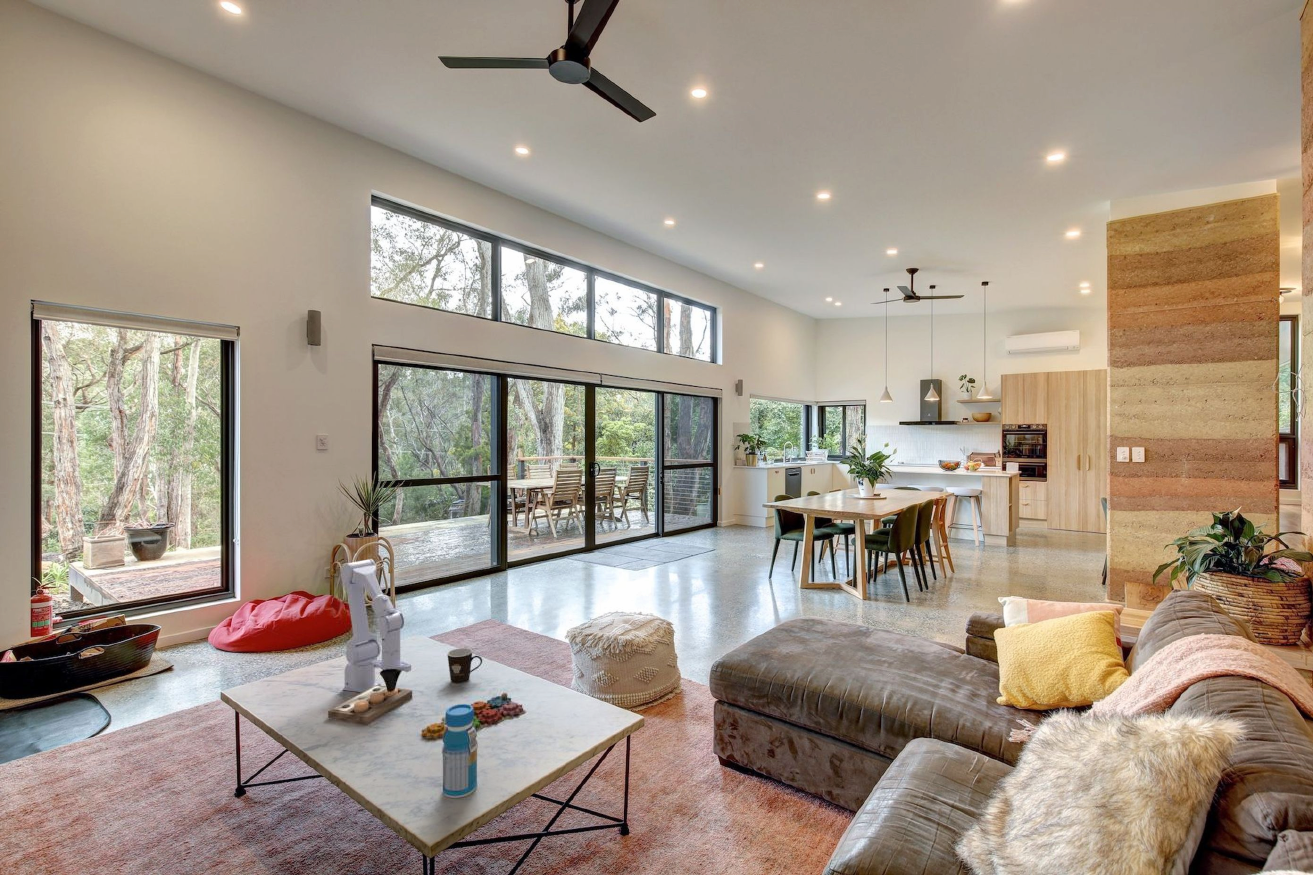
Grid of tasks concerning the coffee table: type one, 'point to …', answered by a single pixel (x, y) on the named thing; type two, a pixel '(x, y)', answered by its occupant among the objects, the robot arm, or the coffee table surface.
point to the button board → (375, 710)
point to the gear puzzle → (481, 715)
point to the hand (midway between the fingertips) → (391, 690)
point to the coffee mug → (460, 664)
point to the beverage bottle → (459, 752)
